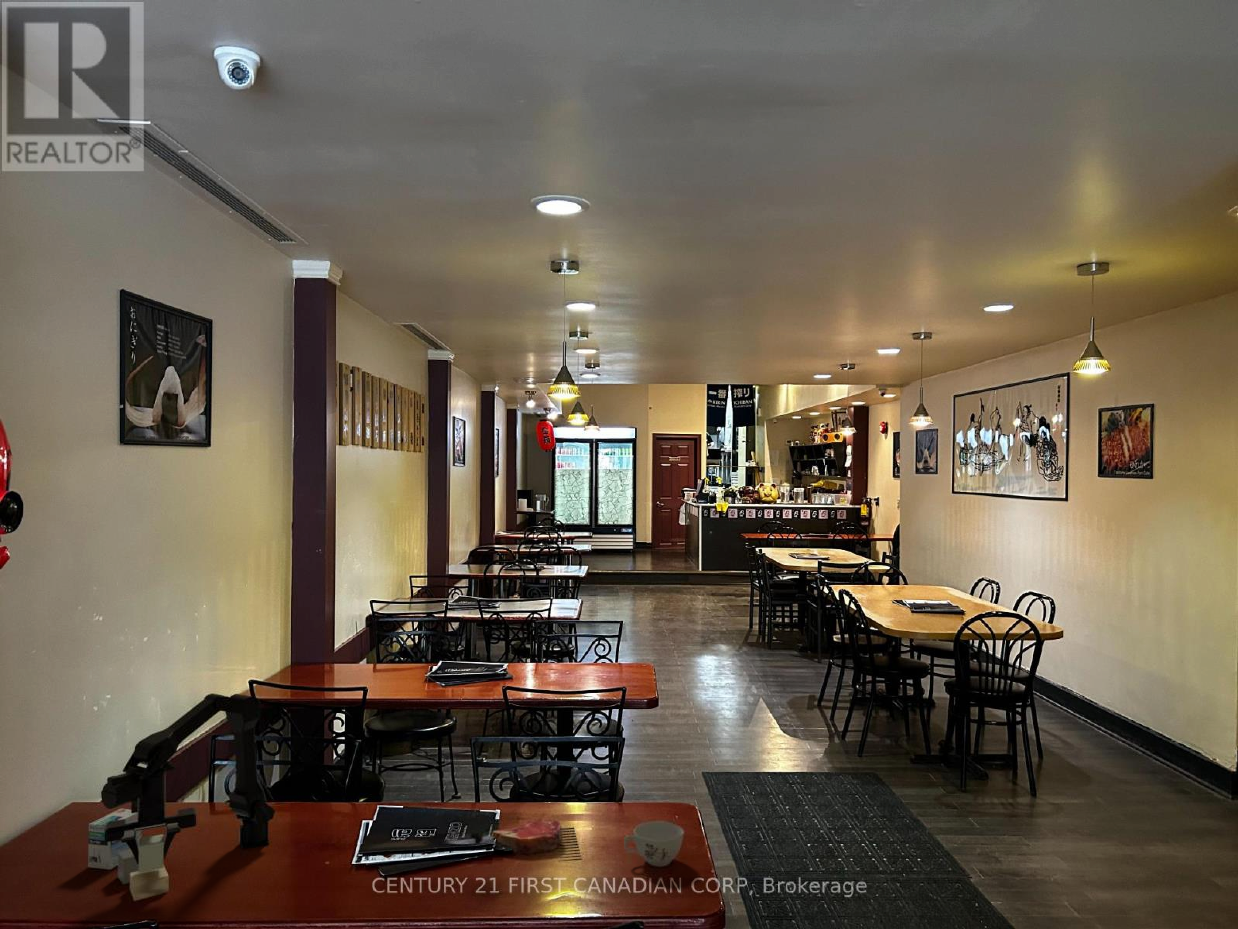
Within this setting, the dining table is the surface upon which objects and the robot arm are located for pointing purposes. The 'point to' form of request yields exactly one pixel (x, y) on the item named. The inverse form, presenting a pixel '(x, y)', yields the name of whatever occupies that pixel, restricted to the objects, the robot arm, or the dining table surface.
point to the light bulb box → (107, 852)
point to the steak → (537, 838)
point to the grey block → (126, 865)
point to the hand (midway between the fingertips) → (151, 861)
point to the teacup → (656, 842)
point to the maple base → (148, 883)
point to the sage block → (150, 853)
